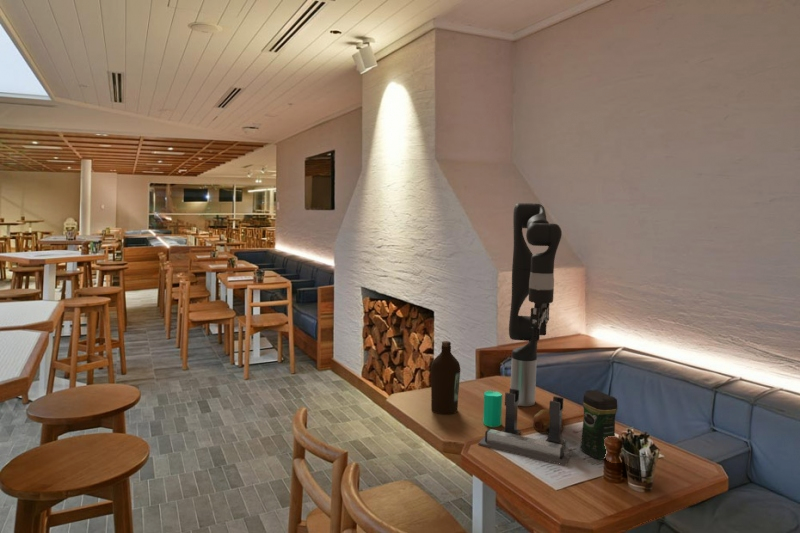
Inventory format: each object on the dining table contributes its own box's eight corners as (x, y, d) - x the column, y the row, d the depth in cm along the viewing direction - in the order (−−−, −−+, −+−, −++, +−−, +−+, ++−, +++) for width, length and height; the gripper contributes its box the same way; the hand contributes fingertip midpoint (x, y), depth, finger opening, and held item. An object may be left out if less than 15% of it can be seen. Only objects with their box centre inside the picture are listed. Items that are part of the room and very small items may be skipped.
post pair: (505, 429, 172) (507, 387, 171) (564, 441, 163) (566, 398, 162) (500, 434, 168) (502, 392, 166) (560, 448, 158) (563, 403, 157)
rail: (488, 437, 164) (488, 428, 163) (564, 455, 153) (564, 445, 152) (485, 441, 161) (485, 431, 161) (561, 459, 150) (562, 448, 150)
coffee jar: (619, 458, 153) (623, 396, 151) (597, 462, 150) (601, 399, 148) (596, 444, 162) (600, 386, 160) (575, 448, 159) (578, 388, 157)
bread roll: (563, 438, 175) (566, 414, 178) (560, 435, 166) (563, 410, 169) (534, 432, 179) (536, 409, 182) (529, 429, 170) (532, 405, 173)
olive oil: (427, 413, 185) (429, 344, 182) (431, 403, 195) (433, 337, 193) (457, 416, 183) (460, 346, 180) (460, 406, 193) (462, 339, 191)
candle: (500, 427, 173) (502, 392, 172) (482, 426, 175) (484, 391, 174) (501, 421, 179) (502, 387, 178) (483, 419, 181) (484, 385, 179)
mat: (486, 436, 166) (486, 434, 166) (570, 455, 154) (570, 453, 153) (478, 444, 160) (478, 442, 160) (565, 465, 147) (565, 463, 147)
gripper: (535, 283, 172) (533, 332, 173) (523, 288, 159) (521, 340, 161) (558, 285, 168) (556, 335, 170) (548, 290, 156) (545, 343, 157)
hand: (539, 337), depth 165 cm, fingers open, 8 cm apart
